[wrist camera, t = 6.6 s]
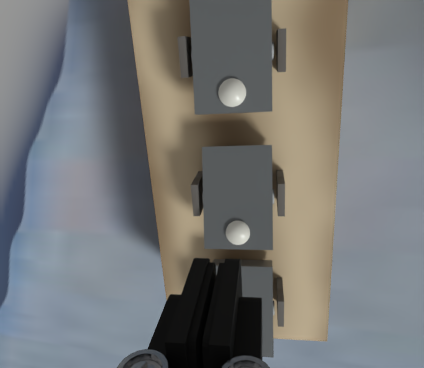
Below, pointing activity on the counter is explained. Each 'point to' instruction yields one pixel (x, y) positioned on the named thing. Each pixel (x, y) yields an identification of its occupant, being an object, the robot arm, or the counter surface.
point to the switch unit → (244, 136)
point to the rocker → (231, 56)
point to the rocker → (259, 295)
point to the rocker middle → (238, 197)
